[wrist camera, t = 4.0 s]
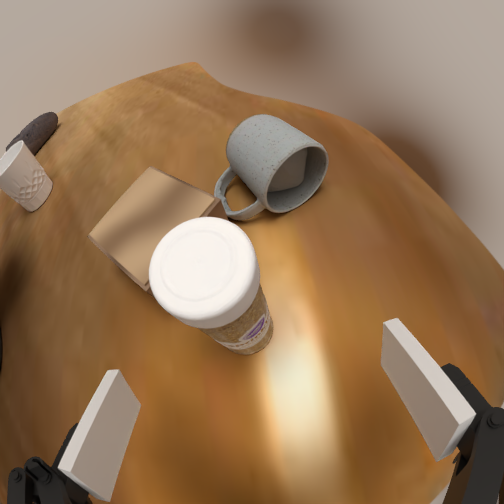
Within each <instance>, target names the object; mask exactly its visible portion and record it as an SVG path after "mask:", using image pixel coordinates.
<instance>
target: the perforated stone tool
mask: <svg viewBox="0 0 504 504" xmlns="http://www.w3.org/2000/svg"><path fill="white" fill-rule="evenodd" d="M57 123H58V117H57V115H56V114H55V113H53V112H48V113H45V114H43V115H41V116H39V117H37V118H36V119H34V120H33V121H32V122H31V123H29V124H28V125H27V126H26V127H25V128H24V129H23V130H22V131H21V133H20V134H18V135H17V136H16V137H15V138H14V139H13V140H12V141H11V143H10V144H9V145H8V146H7V147H6V152H7V151H8V149H9V148H11V147H12V146H13V145H14V144H15V143H17V142H18V141H21V140H22V141H23V142H24V143H25V144H26V146H27V147H28V149H29V150H30V151H31V153H32V154H33V155H35V153H36V152H37V151H38V150H39V149H40V148H41V146H42V145H43V144H44V143H45V142H46V141H47V139H48V138H49V137H50V136H51V134H52V133H53V132H54V130H55V128H56V126H57Z"/></svg>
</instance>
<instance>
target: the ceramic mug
mask: <svg viewBox="0 0 504 504" xmlns="http://www.w3.org/2000/svg"><path fill="white" fill-rule="evenodd" d="M226 155H227V158H228V161H229V163H230V167H229V168H228V169H227V170H226V171H225V172H224V173H223V174H222V175H221V177H220V178H219V180H218V182H217V183H216V186H215V191H214V196H215V197H217V198H219V199H221V201H222V204H223V207H224V209H225V212H226V215H227V216H228V217H230V218H232V219H234V220H245V219H249V218H251V217H253V216H255V215H256V214H258V213H260V212H261V211H262V210H264V209H265V208H266V209H268V210H269V211H271V212H274V213H283V212H287V211H290V210H292V209H294V208H296V207H298V206H300V205H301V204H303V203H304V202H305V201H307V200H308V199H309V198H310V197H311V196H312V195H313V194H314V192H315V191H316V190H317V189H318V188H319V186H320V185H321V183H322V181H323V179H324V177H325V175H326V171H327V168H328V154H327V152H326V150H325V148H324V147H323V146H322V145H321V144H320V143H318V142H316V141H315V140H313V139H311V138H310V137H308V136H307V135H305V134H304V133H302V132H301V131H299V130H297V129H296V128H294V127H292V126H290V125H289V124H287V123H286V122H284V121H282V120H280V119H279V118H277V117H273V116H270V115H266V114H258V115H253V116H250V117H248V118H246V119H244V120H243V121H241V122H240V123H239V124H238V125H237V126H236V127H235V128H234V129H233V131H232V132H231V134H230V136H229V138H228V141H227V145H226ZM236 175H238V176H239V177H240V178H241V179H242V181H243V182H245V183H246V185H247V186H248V187H249V189H250V190H251V191H252V192H253V194H254V195H255V196H256V197H257V201H256V202H255V203H253V204H252V205H250V206H248V207H247V208H245V209H243V210H240V211H235V212H233V211H231V209H230V208H229V206H228V204H227V202H226V198H225V197H224V194H225V191H226V188H227V186H228V185H229V183H230V182H231V181H232V179H233V178H234V177H235V176H236Z"/></svg>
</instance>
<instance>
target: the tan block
mask: <svg viewBox="0 0 504 504" xmlns="http://www.w3.org/2000/svg"><path fill="white" fill-rule="evenodd" d="M200 217H216V218H221V219H224V220H227V221H229V220H228V218H227V215H226V212H225V209H224V207H223V204H222V201H221V199H219V198H217V197H215V196H213V195H211V194H209V193H207V192H205V191H203V190H201V189H199V188H196V187H194V186H192V185H190V184H188V183H186V182H184V181H182V180H180V179H178V178H175V177H173V176H171V175H169V174H167V173H165V172H163V171H160V170H158V169H156V168H154V167H152V166H150V167H149V168H148V169H147V170H146V171H145V172H144V173H143V174H142V175H141V176H140V177H139V178H138V179H137V180H136V181H135V182H134V183H133V184H132V185H131V186H130V187H129V189H128V190H127V191H126V192H125V193H124V194H123V195H122V196H121V197H120V198H119V200H118V201H117V202H116V203H115V204H114V205H113V206H112V207H111V209H110V210H109V211H108V212H107V213H106V214H105V216H104V217H103V218H102V219H101V220H100V222H99V223H98V224H97V225H96V226H95V228H94V229H93V230H92V231H91V233H90V234H89V235H88V236H87V237H88V238H89V239H90V240H91V241H92V242H93V243H94V244H95V245H96V246H97V247H98V248H99V249H100V250H101V251H102V252H103V253H104V254H105V255H106V256H107V257H108V258H109V259H110V260H112V261H113V262H114V263H115V264H116V265H117V266H118V267H119V268H120V269H121V270H122V271H123V272H125V273H126V274H127V275H128V276H129V277H130V278H131V279H132V280H133V281H135V282H136V283H137V284H138V285H139V286H140V287H141V288H143V289H144V290H145V291H146V292H147V293H149V294H150V295H152V296H153V297H154V295H153V292H152V290H151V287H150V282H149V266H150V261H151V258H152V255H153V252H154V251H155V249H156V247H157V245H158V244H159V242H160V241H161V240H162V238H163V237H164V236H165V235H166V234H167V233H168V232H169V231H171V230H172V229H173V228H175V227H176V226H178V225H179V224H181V223H183V222H186V221H188V220H191V219H195V218H200ZM154 298H155V297H154Z"/></svg>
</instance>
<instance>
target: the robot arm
mask: <svg viewBox="0 0 504 504" xmlns="http://www.w3.org/2000/svg"><path fill="white" fill-rule="evenodd" d="M1 355H2V342H1V331H0V367H1ZM381 366H382V368H383V369H384V371H385V372H386V374H387V376H388V377H389V379H390V381H391V382H392V384H393V386H394V387H395V389H396V391H397V392H398V394H399V396H400V397H401V399H402V401H403V403H404V404H405V406H406V408H407V409H408V411H409V413H410V415H411V416H412V418H413V420H414V422H415V423H416V425H417V427H418V429H419V431H420V432H421V434H422V436H423V438H424V440H425V441H426V443H427V445H428V447H429V449H430V451H431V453H432V454H433V456H434V458H435V460H436V462H437V461H439V460H441V459H443V458H445V457H447V456H448V455H450V454H452V453H453V451H454V450H455V448H456V447H458V449H459V450H460V452H459V453H458V455H457V456H456V457H455V459H454V461H453V463H455V462H456V461H457V462H456V465H455V469H454V472H453V475H452V479H451V482H450V485H449V488H448V491H447V493H446V496H445V499H444V501H443V504H496V503H497V499H498V495H499V504H504V409H502V408H499V407H494V408H493V407H491V406H490V405H489V404H488V402H487V401H486V400H485V399H484V397H483V396H482V395H481V394H480V392H479V391H478V390H477V389H476V388H475V386H474V385H473V384H471V382H470V380H469V379H468V378H466V376H465V375H464V373H463V372H462V371H461V370H460V369H459V368H458V367H456V366H454V365H452V364H450V363H448V364H446V365H444V366H442V367H439V366H438V364H437V363H436V362H435V361H434V360H433V358H432V357H431V356H430V355H429V354H428V352H427V351H426V350H425V349H424V348H423V347H422V345H421V344H420V343H419V342H418V341H417V340H416V338H415V337H414V336H413V335H412V334H411V333H410V332H409V330H408V329H407V328H406V327H405V326H404V325H403V324H402V323H401V322H400V320H399V319H398V318H395V319H392V320H389V321H386V322H383V341H382V356H381ZM140 407H141V404H140V403H139V401H138V400H137V398H136V396H135V395H134V393H133V392H132V390H131V389H130V387H129V385H128V384H127V382H126V381H125V379H124V377H123V375H122V374H121V372H120V370H108V371H107V372H106V374H105V376H104V378H103V379H102V381H101V383H100V385H99V387H98V388H97V390H96V392H95V394H94V396H93V397H92V399H91V401H90V403H89V405H88V407H87V409H86V411H85V412H84V414H83V416H82V418H81V420H80V422H79V424H78V423H76V424H75V425H74V426H73V427H72V428H71V429H70V430H69V432H68V434H67V436H66V439H65V440H64V442H63V446H61V448H60V450H59V452H58V454H57V456H56V459H55V461H54V463H53V465H52V467H49V466H48V465H47V464H46V463H45V462H44V461H43V460H42V459H41V458H39V457H32V458H30V459H28V460H27V462H26V463H25V465H24V470H23V469H22V468H19V467H17V468H14V469H13V470H12V471H11V473H10V475H9V481H8V495H7V504H33V502H34V503H35V504H92V501H91V500H90V498H88V494H89V493H90V494H91V495H92V496H94V497H95V498H97V499H100V500H104V501H108V502H110V499H111V496H112V492H113V489H114V486H115V482H116V479H117V476H118V473H119V469H120V466H121V463H122V460H123V457H124V454H125V451H126V448H127V445H128V442H129V439H130V436H131V433H132V430H133V427H134V424H135V422H136V419H137V416H138V413H139V410H140Z"/></svg>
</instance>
